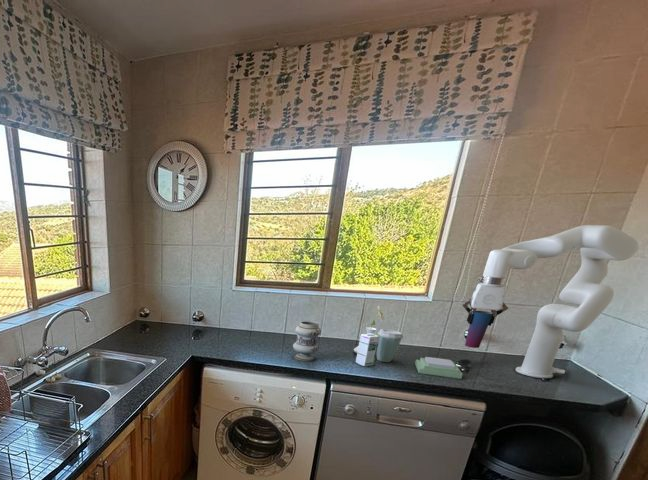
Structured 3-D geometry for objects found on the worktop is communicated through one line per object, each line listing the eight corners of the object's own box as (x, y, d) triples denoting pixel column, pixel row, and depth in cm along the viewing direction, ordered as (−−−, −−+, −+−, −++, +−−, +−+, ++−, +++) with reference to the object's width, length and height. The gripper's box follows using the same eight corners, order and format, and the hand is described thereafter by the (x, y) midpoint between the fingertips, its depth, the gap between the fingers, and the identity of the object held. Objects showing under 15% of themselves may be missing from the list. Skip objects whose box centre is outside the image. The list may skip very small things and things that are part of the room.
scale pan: (449, 363, 186) (450, 359, 185) (454, 369, 177) (455, 366, 177) (424, 359, 190) (425, 356, 189) (427, 366, 181) (428, 363, 181)
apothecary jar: (294, 352, 208) (299, 318, 201) (318, 356, 202) (325, 321, 196) (288, 359, 198) (294, 323, 192) (314, 363, 193) (320, 327, 186)
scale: (454, 368, 187) (457, 361, 186) (461, 378, 175) (463, 371, 174) (414, 363, 194) (416, 356, 192) (418, 372, 182) (420, 365, 181)
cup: (485, 349, 171) (496, 314, 165) (467, 347, 172) (478, 313, 167) (476, 344, 177) (487, 310, 172) (459, 343, 178) (469, 310, 173)
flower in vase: (372, 359, 198) (383, 309, 189) (349, 354, 207) (358, 305, 197) (383, 354, 206) (394, 306, 197) (360, 349, 214) (370, 302, 205)
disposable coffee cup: (382, 355, 205) (389, 327, 199) (402, 362, 195) (409, 332, 190) (367, 357, 201) (373, 328, 195) (386, 364, 192) (393, 334, 186)
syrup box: (364, 366, 189) (370, 336, 184) (354, 362, 195) (360, 333, 189) (374, 365, 191) (380, 336, 185) (364, 361, 196) (370, 332, 191)
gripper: (469, 280, 165) (456, 323, 171) (522, 284, 158) (507, 328, 164) (464, 278, 171) (452, 320, 178) (516, 281, 164) (501, 324, 171)
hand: (479, 323), depth 171 cm, fingers closed on cup, 6 cm apart
